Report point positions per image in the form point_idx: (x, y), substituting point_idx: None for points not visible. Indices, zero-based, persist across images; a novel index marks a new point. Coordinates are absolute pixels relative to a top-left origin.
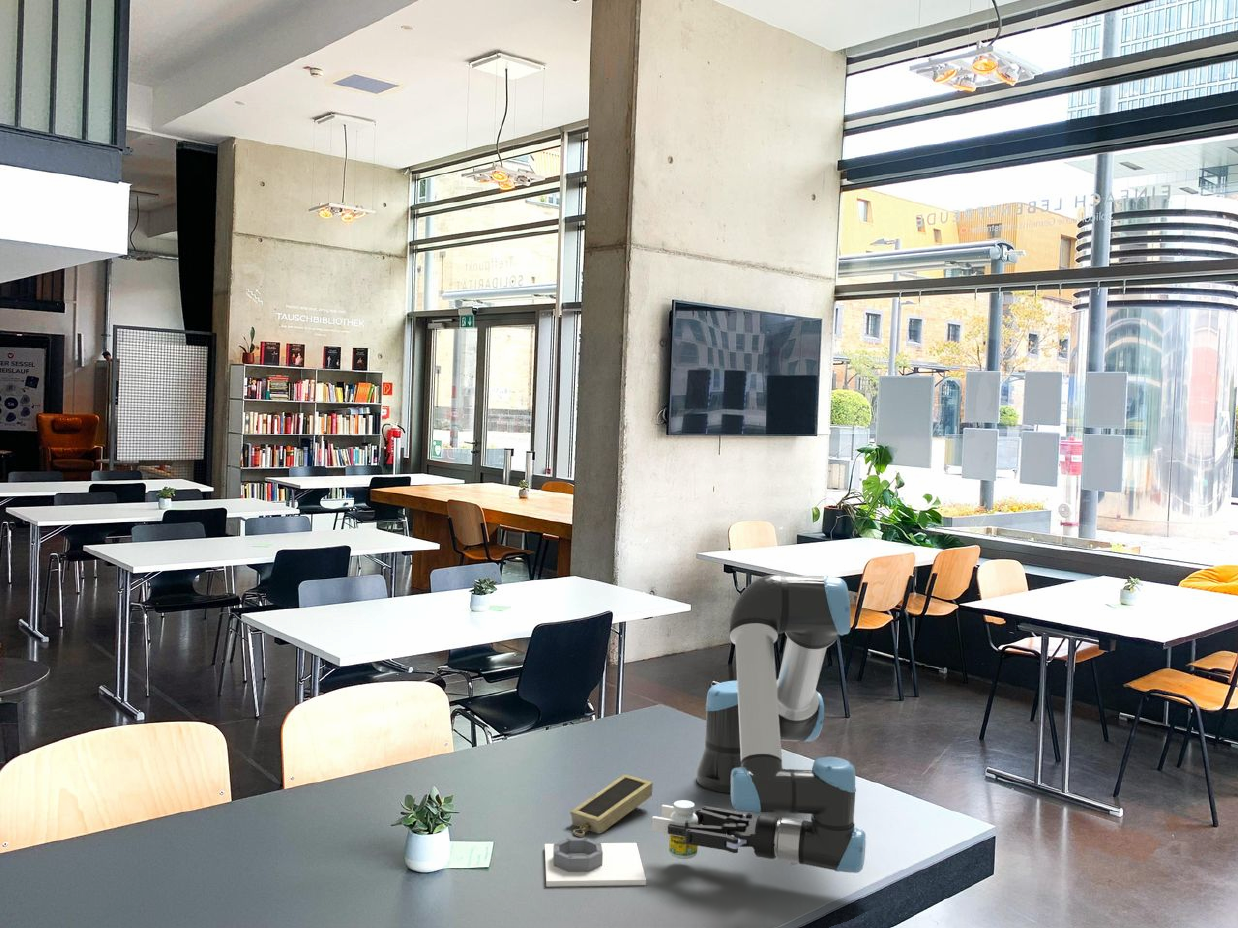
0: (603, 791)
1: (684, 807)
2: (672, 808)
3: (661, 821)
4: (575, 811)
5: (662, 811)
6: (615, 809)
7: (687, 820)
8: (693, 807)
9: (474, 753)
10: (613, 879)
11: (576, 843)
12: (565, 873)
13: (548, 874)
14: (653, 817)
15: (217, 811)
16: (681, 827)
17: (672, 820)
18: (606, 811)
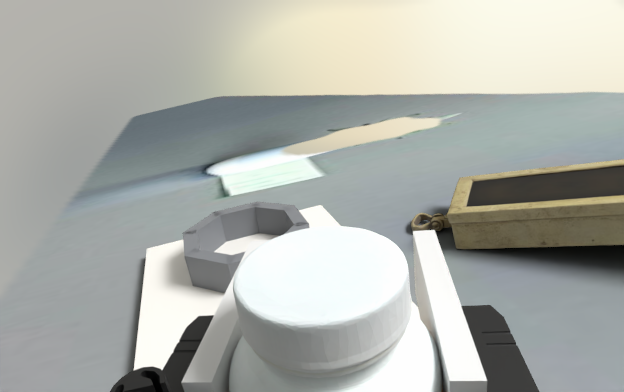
0: (596, 166)
1: (241, 282)
2: (421, 270)
3: None
4: (464, 181)
5: (414, 259)
6: (532, 211)
7: (163, 378)
8: (291, 335)
9: (604, 96)
10: (141, 340)
11: (290, 223)
12: (183, 259)
13: (178, 243)
14: (250, 244)
15: (307, 97)
16: (171, 383)
17: (224, 309)
18: (503, 205)
